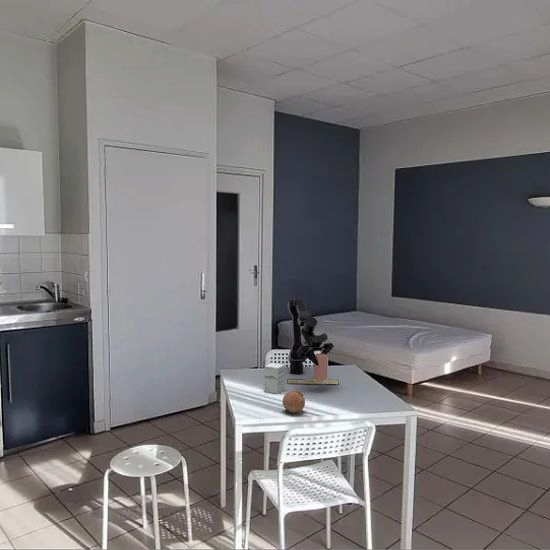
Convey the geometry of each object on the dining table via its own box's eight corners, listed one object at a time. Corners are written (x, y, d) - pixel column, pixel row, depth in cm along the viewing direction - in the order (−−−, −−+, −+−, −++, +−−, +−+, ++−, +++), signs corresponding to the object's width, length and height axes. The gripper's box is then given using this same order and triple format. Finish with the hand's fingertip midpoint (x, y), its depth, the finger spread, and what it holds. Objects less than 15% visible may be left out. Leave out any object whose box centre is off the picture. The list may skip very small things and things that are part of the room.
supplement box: (263, 391, 244) (264, 365, 243) (270, 387, 251) (271, 362, 250) (277, 394, 241) (277, 367, 240) (284, 390, 247) (285, 364, 246)
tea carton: (313, 378, 247) (314, 354, 246) (321, 377, 250) (322, 353, 249) (318, 381, 244) (319, 356, 243) (326, 379, 246) (327, 355, 245)
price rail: (286, 382, 260) (287, 378, 260) (338, 383, 260) (338, 379, 260) (287, 384, 258) (287, 379, 257) (338, 385, 258) (339, 380, 257)
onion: (298, 416, 221) (307, 394, 223) (300, 418, 212) (309, 395, 214) (278, 407, 221) (287, 385, 223) (279, 409, 212) (288, 386, 214)
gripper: (301, 329, 243) (314, 357, 235) (332, 326, 253) (345, 353, 244) (291, 342, 250) (303, 370, 242) (322, 339, 260) (334, 365, 252)
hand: (322, 364), depth 245 cm, fingers closed on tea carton, 5 cm apart
